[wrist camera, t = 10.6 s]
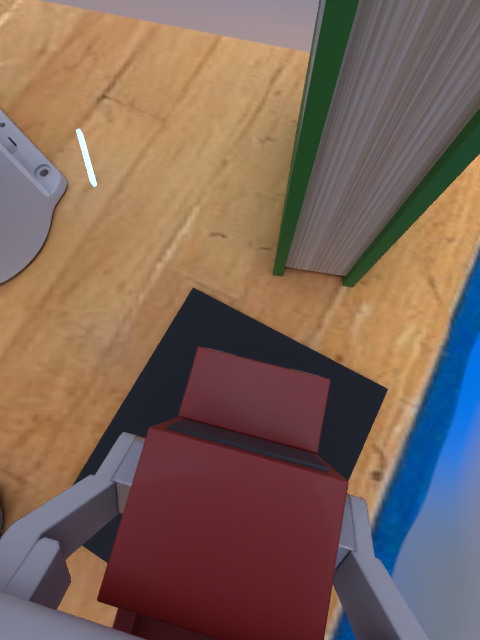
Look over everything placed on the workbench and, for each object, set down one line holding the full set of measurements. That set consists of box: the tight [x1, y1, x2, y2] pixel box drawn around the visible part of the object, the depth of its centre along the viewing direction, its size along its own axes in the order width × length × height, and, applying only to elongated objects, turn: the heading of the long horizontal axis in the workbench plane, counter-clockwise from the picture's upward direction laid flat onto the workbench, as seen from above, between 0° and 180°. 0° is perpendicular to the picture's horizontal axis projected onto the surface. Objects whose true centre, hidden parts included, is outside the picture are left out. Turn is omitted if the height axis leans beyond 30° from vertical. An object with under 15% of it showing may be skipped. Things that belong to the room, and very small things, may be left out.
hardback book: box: [273, 0, 480, 287], centre depth 19 cm, size 18×7×24 cm, turn 170°
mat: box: [73, 288, 388, 563], centre depth 25 cm, size 19×22×1 cm
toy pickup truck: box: [97, 346, 349, 640], centre depth 11 cm, size 13×6×8 cm, turn 166°
